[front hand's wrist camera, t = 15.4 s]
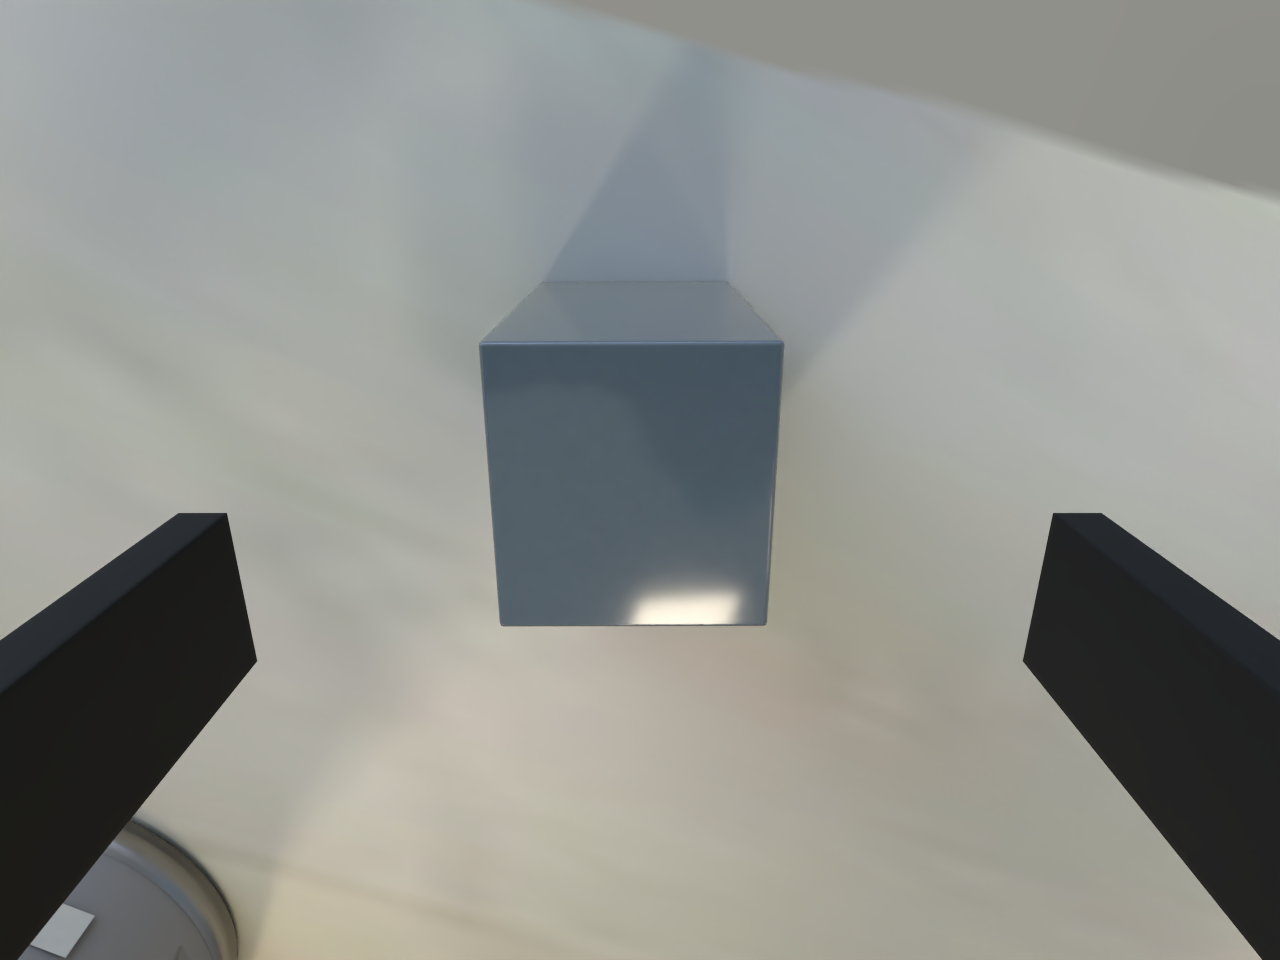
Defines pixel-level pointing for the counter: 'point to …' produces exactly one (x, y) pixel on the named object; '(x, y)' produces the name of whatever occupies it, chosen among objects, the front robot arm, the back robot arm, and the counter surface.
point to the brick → (632, 455)
